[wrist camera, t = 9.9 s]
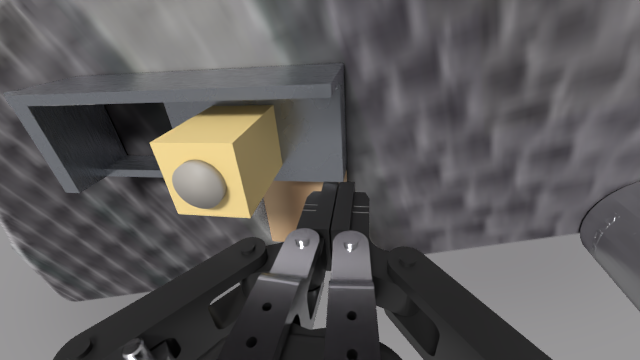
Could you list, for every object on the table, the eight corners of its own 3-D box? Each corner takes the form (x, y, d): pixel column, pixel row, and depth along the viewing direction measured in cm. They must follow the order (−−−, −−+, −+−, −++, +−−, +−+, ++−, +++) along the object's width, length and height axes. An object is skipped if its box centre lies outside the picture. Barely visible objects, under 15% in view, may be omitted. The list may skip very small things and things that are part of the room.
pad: (346, 170, 26) (345, 178, 25) (348, 236, 30) (347, 246, 29) (264, 168, 27) (259, 176, 26) (276, 231, 32) (272, 240, 30)
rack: (343, 62, 21) (330, 83, 15) (346, 165, 26) (337, 212, 20) (76, 76, 26) (-13, 96, 20) (117, 161, 30) (55, 198, 24)
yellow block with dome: (273, 104, 21) (227, 148, 14) (282, 164, 23) (246, 224, 17) (211, 106, 22) (142, 147, 15) (226, 163, 24) (172, 219, 18)
